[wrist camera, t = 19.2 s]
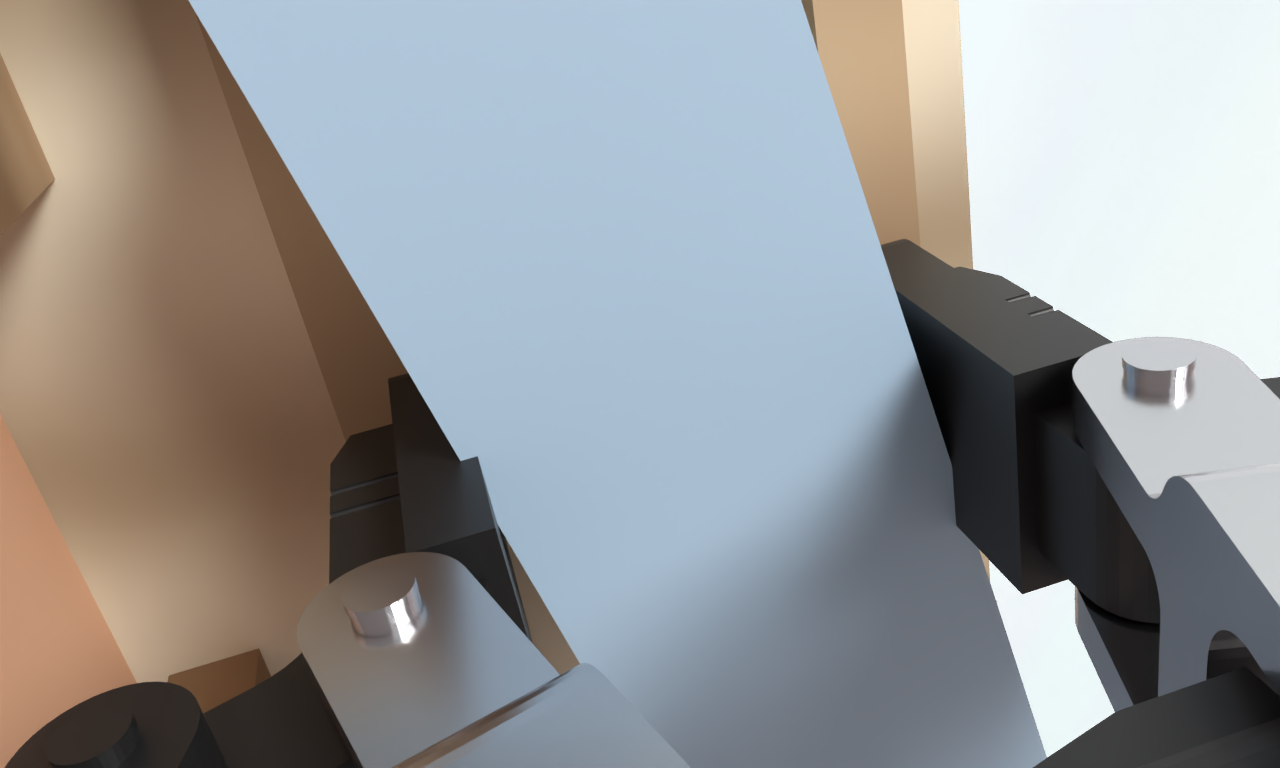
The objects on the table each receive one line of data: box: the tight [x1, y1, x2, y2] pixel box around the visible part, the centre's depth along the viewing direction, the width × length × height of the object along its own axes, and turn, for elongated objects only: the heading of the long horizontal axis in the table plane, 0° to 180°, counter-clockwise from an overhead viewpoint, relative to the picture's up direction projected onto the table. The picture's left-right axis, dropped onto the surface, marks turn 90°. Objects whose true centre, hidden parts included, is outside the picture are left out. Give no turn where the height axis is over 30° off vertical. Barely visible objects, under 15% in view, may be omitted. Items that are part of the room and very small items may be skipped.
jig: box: [0, 0, 990, 713], centre depth 13 cm, size 14×20×4 cm
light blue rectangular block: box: [189, 0, 1047, 768], centre depth 11 cm, size 12×4×3 cm, turn 25°
